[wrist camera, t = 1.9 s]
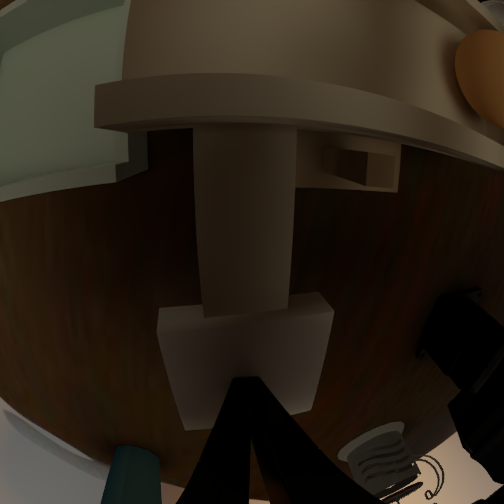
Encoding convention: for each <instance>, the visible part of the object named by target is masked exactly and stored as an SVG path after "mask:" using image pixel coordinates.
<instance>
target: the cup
mask: <svg viewBox="0 0 504 504" xmlns="http://www.w3.org/2000/svg"><path fill="white" fill-rule="evenodd" d="M101 504H162V500H161V482H160V458H159V457H158V456H156V455H155V454H153V453H152V452H151V451H149V450H146V449H142V448H139V447H135V446H132V445H124V446H117V447H116V451H115V454H114V457H113V460H112V464H111V467H110V471H109V474H108V478H107V481H106V485H105V489H104V493H103V496H102V500H101Z"/></svg>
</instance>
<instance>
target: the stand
mask: <svg viewBox="0 0 504 504" xmlns="http://www.w3.org/2000/svg"><path fill="white" fill-rule="evenodd" d="M400 157H401V144H400V143H396V142H390V141H385V140H380V139H374V138H368V137H362V136H355V135H348V134H340V133H332V132H323V131H313V130H301V129H297V148H296V180H295V188H330V189H352V190H369V191H383V192H396V193H397V192H398V182H399V171H400Z"/></svg>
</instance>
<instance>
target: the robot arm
mask: <svg viewBox="0 0 504 504" xmlns="http://www.w3.org/2000/svg"><path fill="white" fill-rule="evenodd" d="M482 294H483V290H482V289H480V288H476V289H471V290H467V291H463V292H458V293H453V294H448V295H443V296H441V297H440V298H439V299H438V301H437V304H436V307H435V309H434V312H433V315H432V318H431V320H430V323H429V326H428V328H427V331H426V333H425V336H424V338H423V340H422V343H421V345H420V347H419V350H418V352H417V354H416V357H417V358H418V360H421V359H425V358H428V357H431V358H432V359H433V360H434V362H435V363H436V364H437V365H438V366H439V368H440V369H441V370H442V371H443V373H444V374H445V375H446V376H449V377H450V378H451V379H452V380H453V382H454V383H455V384H456V386H457V387H458V388H459V389H462V388H463V389H462V390H461V391H460V392H459V393H458V395H457V396H456V397H455V398H454V399H453V400H451V401H450V403H449V404H448V408H449V411H450V413H451V416H452V419H453V421H454V424H455V427H456V429H457V432H458V435H459V438H460V441H461V444H462V447H463V448H464V449H465V450H466V451H467V452H468V453H469V454H470V457H471V458H472V459H474V460H476V461H477V462H479V463H480V464H481V465H482V466H483V467H484V468H485V469H486V471H487V472H488V474H489V475H490V477H491V478H492V480H493V481H494V482H497V483H500V484H504V327H503V326H502V325H501V324H500V323H498V322H497V321H496V320H495V319H494V318H493V317H492V316H490V315H489V314H488V313H487V312H486V311H485V310H483V309H482V308H481V307H480V306H479V305H478V304H479V302H480V299H481V296H482ZM251 439H252V443H253V447H254V450H255V454H256V457H257V461H258V464H259V468H260V471H261V475H262V478H263V482H264V485H265V488H266V492H267V495H268V498H269V501H270V504H387V503H385V502H383V501H381V500H380V499H378V498H376V497H375V496H374V495H372V494H371V493H369V492H368V491H367V490H365V489H364V488H363V487H361V486H360V485H359V484H357V483H356V482H355V481H353V480H352V479H351V478H349V477H348V476H347V475H346V474H345V473H343V472H342V471H341V470H340V469H339V468H338V467H336V466H335V465H334V464H333V463H332V462H331V461H330V460H329V459H328V457H327V456H326V455H325V454H324V453H323V452H322V451H321V450H320V449H318V447H317V446H316V444H315V443H314V442H313V441H312V440H311V439H310V438H309V436H308V435H307V434H306V433H305V432H304V431H303V429H302V428H301V427H300V426H299V425H298V424H297V422H296V421H295V420H294V419H293V418H292V416H291V415H290V414H289V413H288V412H287V410H286V409H285V408H284V407H283V406H282V404H281V403H280V402H279V401H278V399H277V398H276V397H275V396H274V394H273V393H272V392H271V391H270V389H269V388H268V387H267V386H266V384H265V383H264V382H263V381H262V379H261V378H260V377H259V376H250V377H247V378H245V377H235V378H233V379H232V381H231V384H230V386H229V389H228V391H227V394H226V396H225V399H224V401H223V404H222V406H221V409H220V411H219V414H218V416H217V418H216V421H215V423H214V426H213V428H212V431H211V433H210V435H209V438H208V440H207V443H206V445H205V447H204V450H203V452H202V454H201V457H200V459H199V460H200V461H199V462H198V463H197V466H196V468H195V470H194V472H193V474H192V477H191V479H190V481H189V483H188V485H187V486H186V488H185V490H184V491H183V493H182V495H181V496H180V498H179V499H178V501H177V502H176V504H249V485H250V450H251ZM472 504H504V485H503V486H502V487H501V488H499V489H498V490H497V491H495V492H494V493H493V494H492V495H490V496H489V497H488V498H487V499H486V500H483V499H480V500H477V501H475V502H474V503H472Z"/></svg>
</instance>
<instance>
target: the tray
mask: <svg viewBox="0 0 504 504" xmlns="http://www.w3.org/2000/svg"><path fill="white" fill-rule="evenodd" d="M130 3H131V0H16V1H14V2H13V3H11V4H9V5H8V6H6V7H5V8H3V9H2V10H0V202H1V201H5V200H10V199H14V198H19V197H24V196H29V195H34V194H39V193H45V192H50V191H56V190H62V189H69V188H75V187H82V186H90V185H97V184H105V183H114V182H118V181H120V180H123V179H125V178H128V177H130V176H132V175H135V174H137V173H140V172H143V171H145V170H148V151H147V131H145V132H136V133H124V132H118V131H112V130H106V129H100V128H94V95H95V85H98V84H103V83H108V82H114V81H120V80H122V65H123V54H124V44H125V36H126V28H127V21H128V15H129V9H130Z"/></svg>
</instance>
